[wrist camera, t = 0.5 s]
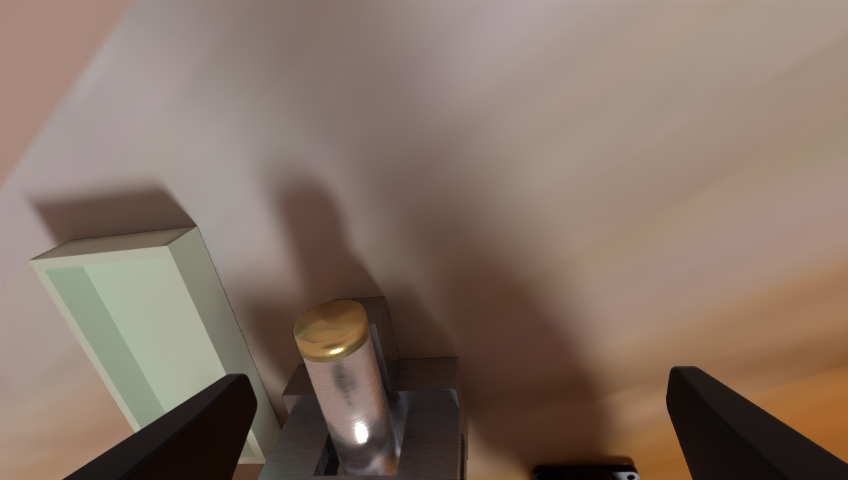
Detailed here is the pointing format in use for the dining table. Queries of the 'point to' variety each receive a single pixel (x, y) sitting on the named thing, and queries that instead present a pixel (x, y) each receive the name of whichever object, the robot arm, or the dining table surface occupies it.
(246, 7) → the dining table surface
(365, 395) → the gold capped cylinder
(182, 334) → the tray
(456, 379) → the clevis block
